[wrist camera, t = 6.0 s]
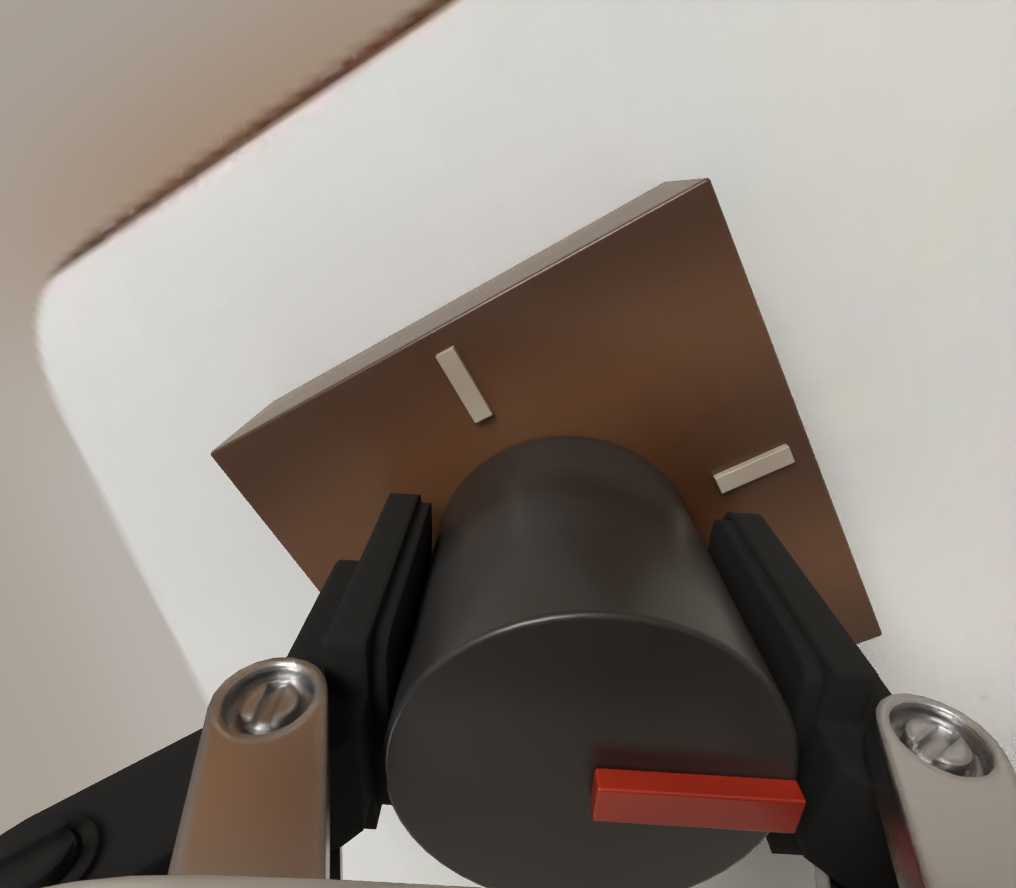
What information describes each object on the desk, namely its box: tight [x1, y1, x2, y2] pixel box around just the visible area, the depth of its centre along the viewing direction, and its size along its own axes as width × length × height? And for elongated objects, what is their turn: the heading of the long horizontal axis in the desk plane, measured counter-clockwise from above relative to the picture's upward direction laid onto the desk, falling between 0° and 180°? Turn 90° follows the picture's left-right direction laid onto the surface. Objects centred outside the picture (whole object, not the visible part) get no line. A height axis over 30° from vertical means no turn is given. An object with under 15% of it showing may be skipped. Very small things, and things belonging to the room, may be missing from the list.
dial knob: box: [382, 436, 806, 888], centre depth 9 cm, size 5×5×5 cm
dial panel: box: [211, 178, 882, 644], centre depth 13 cm, size 10×10×3 cm
